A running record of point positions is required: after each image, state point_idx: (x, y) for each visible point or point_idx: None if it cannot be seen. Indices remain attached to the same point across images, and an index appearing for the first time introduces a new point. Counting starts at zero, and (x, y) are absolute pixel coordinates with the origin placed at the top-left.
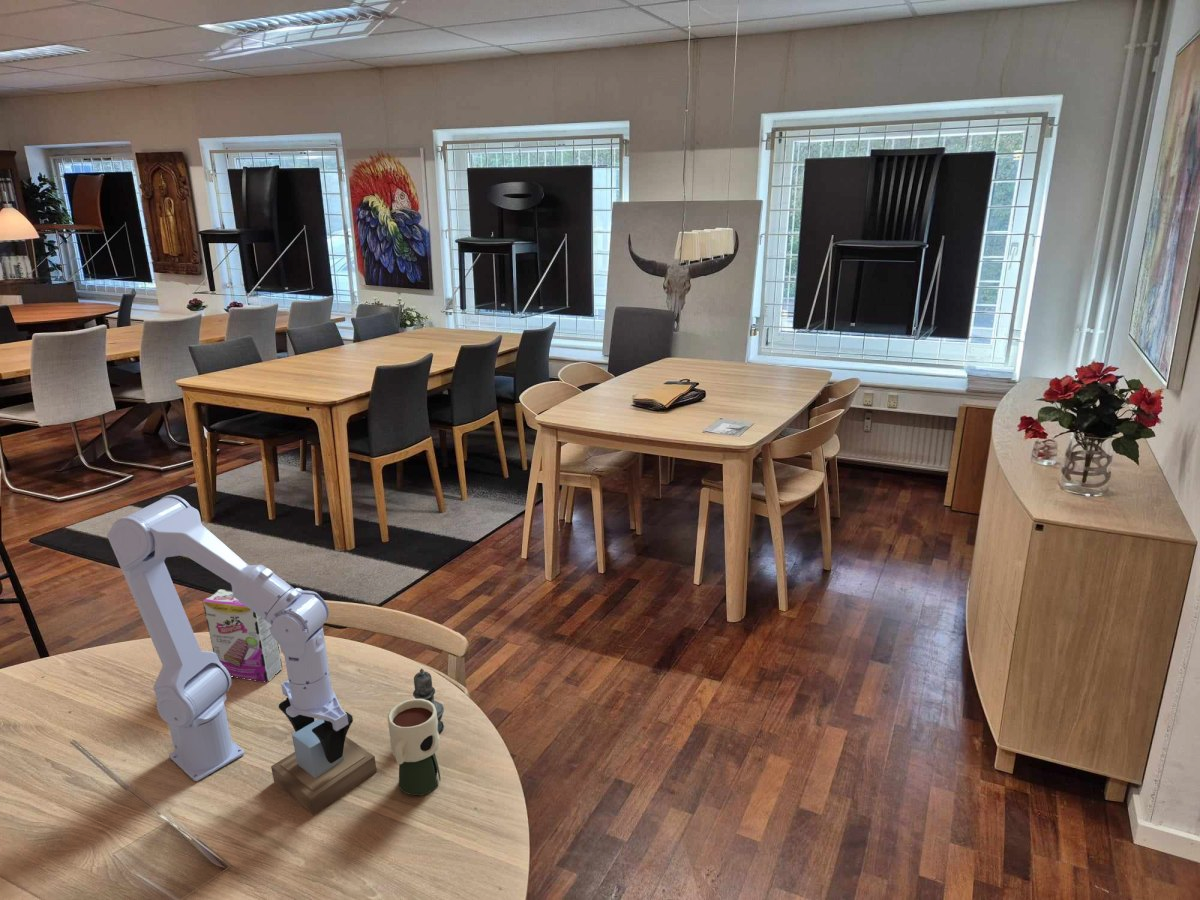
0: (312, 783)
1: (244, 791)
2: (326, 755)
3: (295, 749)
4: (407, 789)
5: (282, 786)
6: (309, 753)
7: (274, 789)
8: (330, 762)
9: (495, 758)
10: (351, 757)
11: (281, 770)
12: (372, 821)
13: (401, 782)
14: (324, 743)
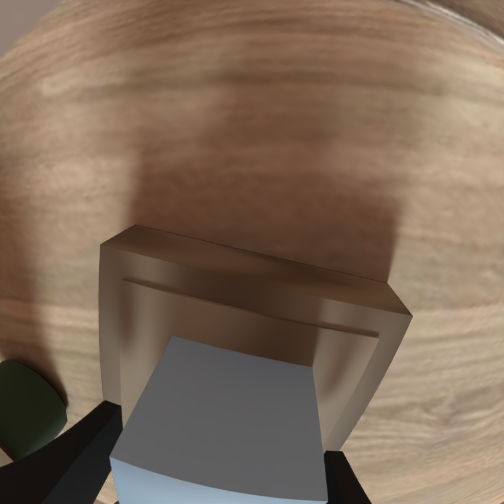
0: (158, 310)
1: (448, 211)
2: (88, 426)
3: (309, 424)
4: (7, 366)
5: (334, 276)
6: (145, 428)
7: (362, 259)
8: (102, 403)
9: None
10: None
11: (354, 318)
12: (13, 274)
13: (16, 380)
14: (1, 471)
